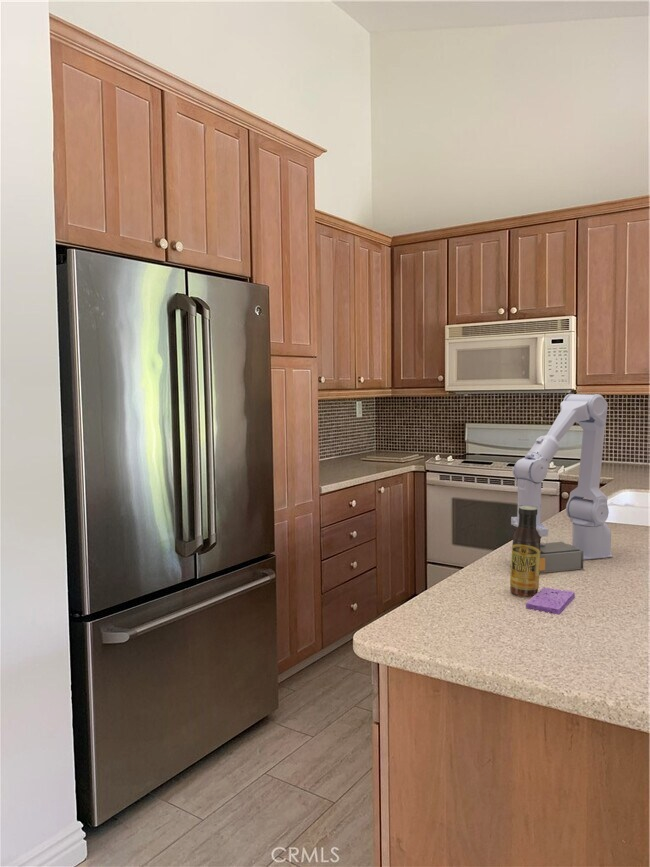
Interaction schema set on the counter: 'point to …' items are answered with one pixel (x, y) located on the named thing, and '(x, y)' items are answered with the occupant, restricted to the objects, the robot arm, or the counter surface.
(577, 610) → the counter surface
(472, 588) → the counter surface
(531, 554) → the sauce bottle
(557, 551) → the camera body
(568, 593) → the sponges
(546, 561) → the side door
